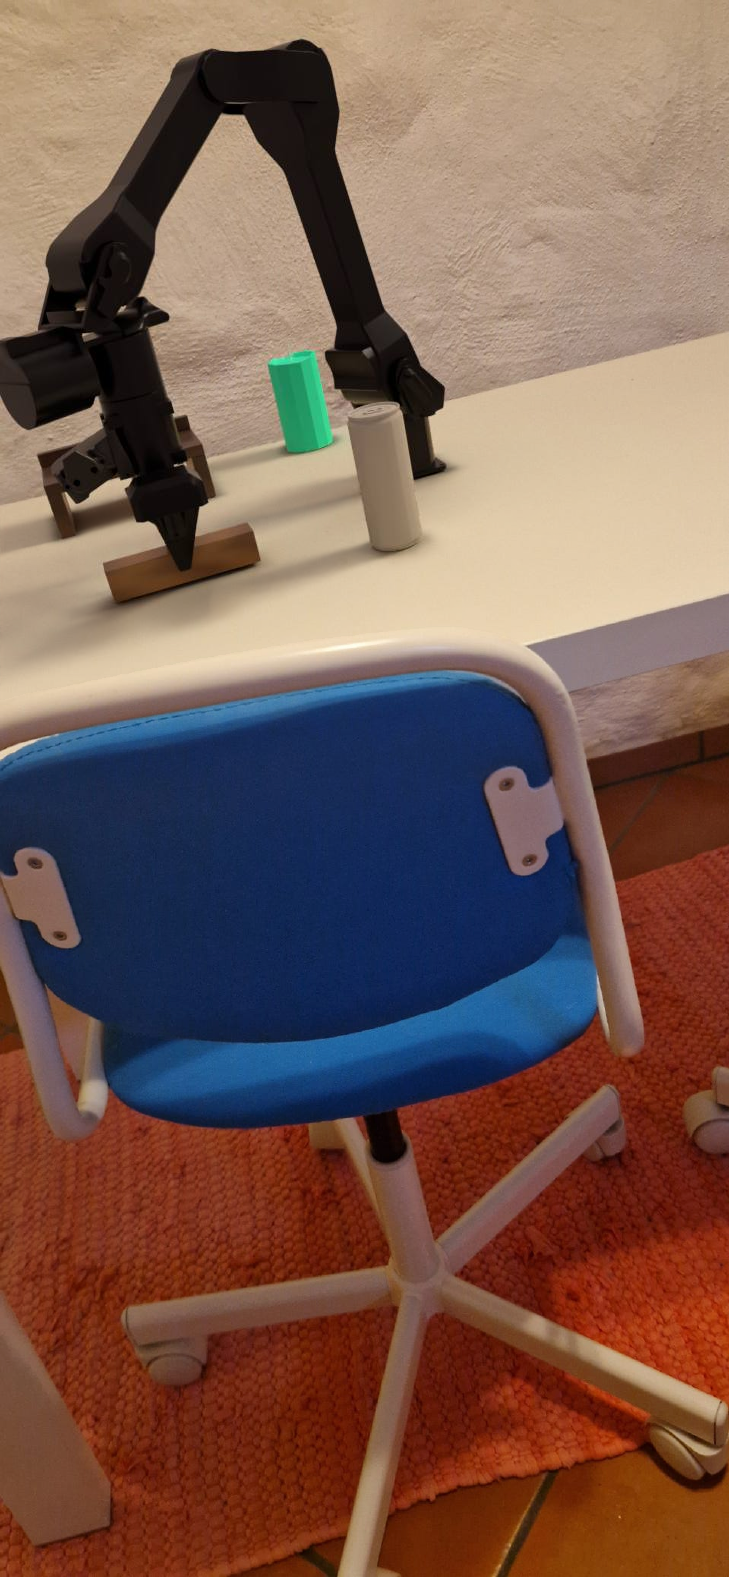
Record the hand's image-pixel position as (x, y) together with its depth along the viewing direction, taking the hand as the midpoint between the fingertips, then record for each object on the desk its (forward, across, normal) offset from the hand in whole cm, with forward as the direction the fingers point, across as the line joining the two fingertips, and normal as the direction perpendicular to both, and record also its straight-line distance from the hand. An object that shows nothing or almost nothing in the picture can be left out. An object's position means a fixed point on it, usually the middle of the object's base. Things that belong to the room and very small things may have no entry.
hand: (183, 564), depth 99 cm
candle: (+2, -36, +21) cm, 42 cm away
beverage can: (+2, +6, +19) cm, 20 cm away
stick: (+1, 0, 0) cm, 1 cm away
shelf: (+2, -30, -2) cm, 30 cm away
